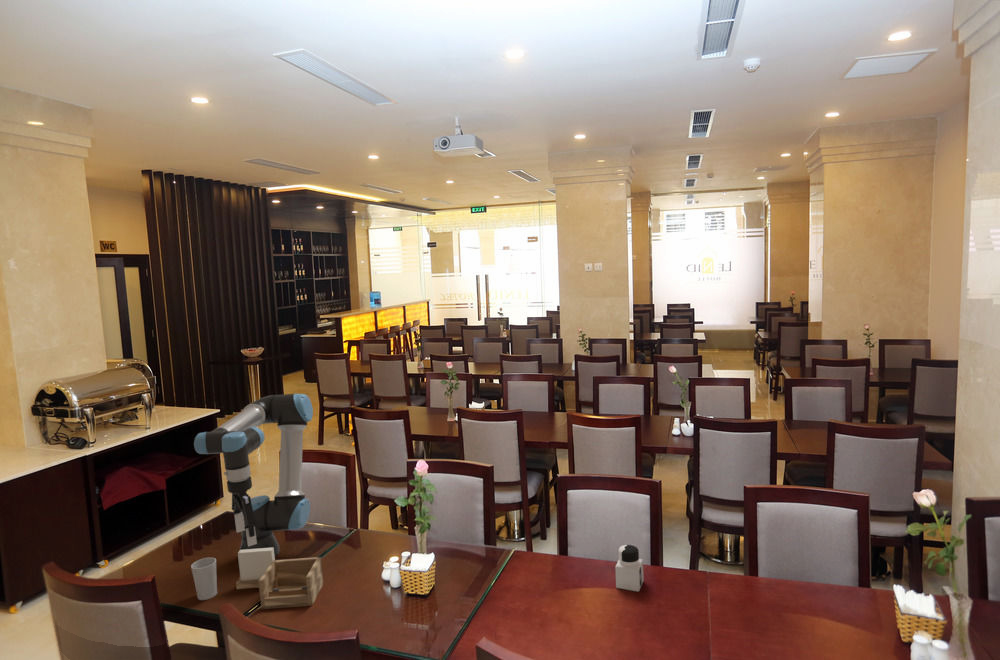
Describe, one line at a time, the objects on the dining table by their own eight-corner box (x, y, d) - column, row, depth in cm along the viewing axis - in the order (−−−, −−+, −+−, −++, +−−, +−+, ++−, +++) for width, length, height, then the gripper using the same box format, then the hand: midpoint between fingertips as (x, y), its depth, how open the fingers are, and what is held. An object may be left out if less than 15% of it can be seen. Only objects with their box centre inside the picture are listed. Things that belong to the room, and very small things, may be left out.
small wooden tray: (242, 581, 216) (241, 575, 216) (281, 578, 217) (281, 572, 216) (236, 589, 211) (235, 582, 211) (277, 586, 212) (276, 579, 211)
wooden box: (275, 586, 211) (273, 560, 210) (323, 583, 212) (320, 556, 211) (261, 609, 197) (258, 581, 196) (312, 605, 198) (309, 577, 197)
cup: (209, 602, 204) (205, 569, 203) (189, 600, 205) (185, 568, 204) (224, 589, 212) (221, 557, 210) (205, 588, 213) (201, 557, 212)
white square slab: (244, 583, 215) (240, 549, 214) (277, 580, 216) (273, 547, 214) (241, 587, 213) (237, 553, 211) (274, 584, 213) (271, 550, 212)
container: (643, 580, 200) (642, 544, 199) (639, 592, 193) (637, 554, 192) (621, 576, 204) (619, 540, 202) (615, 588, 197) (614, 551, 195)
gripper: (217, 472, 204) (225, 529, 207) (237, 492, 185) (245, 555, 188) (240, 466, 209) (247, 522, 212) (261, 485, 190) (269, 546, 192)
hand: (246, 537), depth 200 cm, fingers open, 13 cm apart
